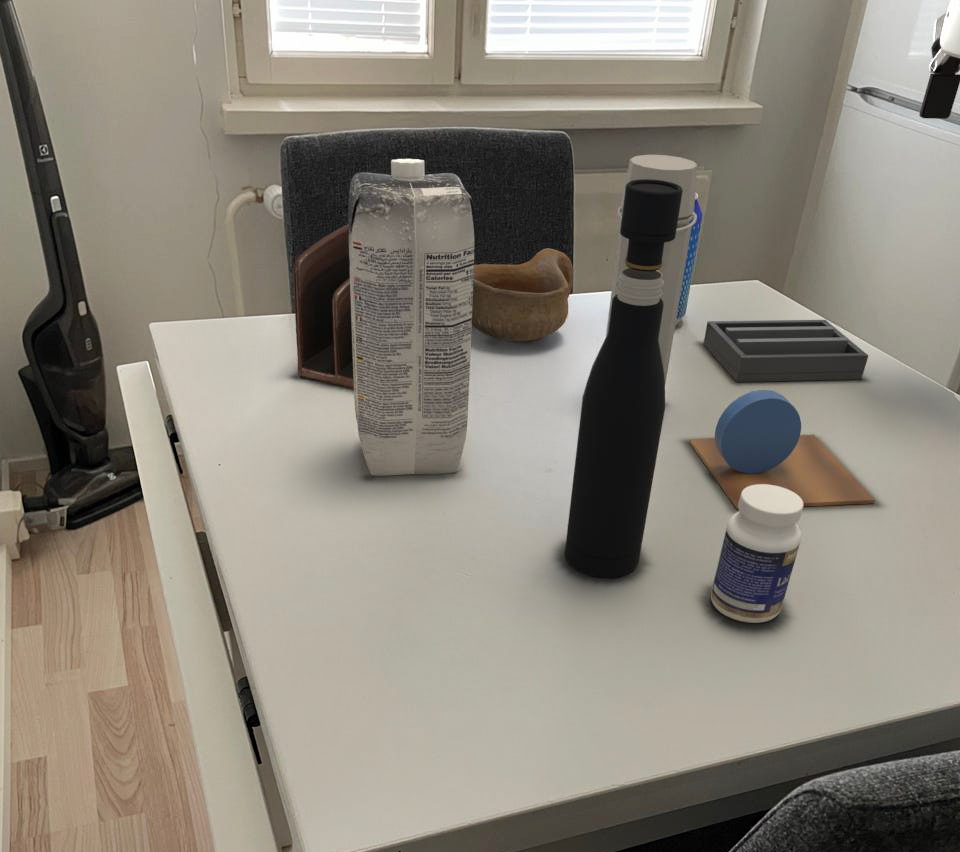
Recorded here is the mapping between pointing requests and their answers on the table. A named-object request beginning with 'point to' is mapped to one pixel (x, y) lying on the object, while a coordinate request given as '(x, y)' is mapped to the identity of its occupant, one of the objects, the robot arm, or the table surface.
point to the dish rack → (784, 350)
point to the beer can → (689, 262)
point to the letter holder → (324, 310)
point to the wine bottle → (624, 397)
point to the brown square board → (790, 474)
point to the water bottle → (673, 251)
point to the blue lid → (757, 431)
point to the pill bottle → (758, 554)
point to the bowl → (522, 297)
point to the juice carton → (411, 317)
